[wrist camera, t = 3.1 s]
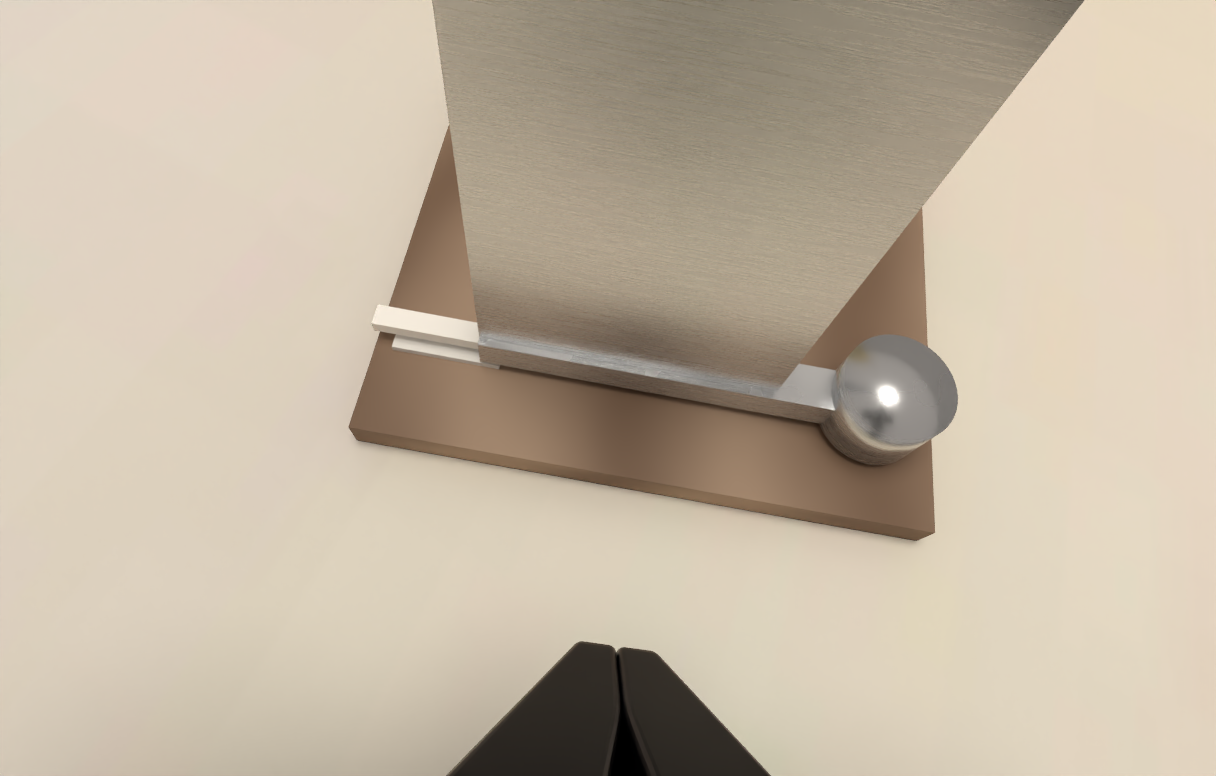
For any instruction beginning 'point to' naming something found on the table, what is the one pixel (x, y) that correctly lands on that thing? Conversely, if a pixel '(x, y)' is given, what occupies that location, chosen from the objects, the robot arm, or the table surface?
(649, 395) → the board
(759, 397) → the lever
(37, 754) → the table surface
